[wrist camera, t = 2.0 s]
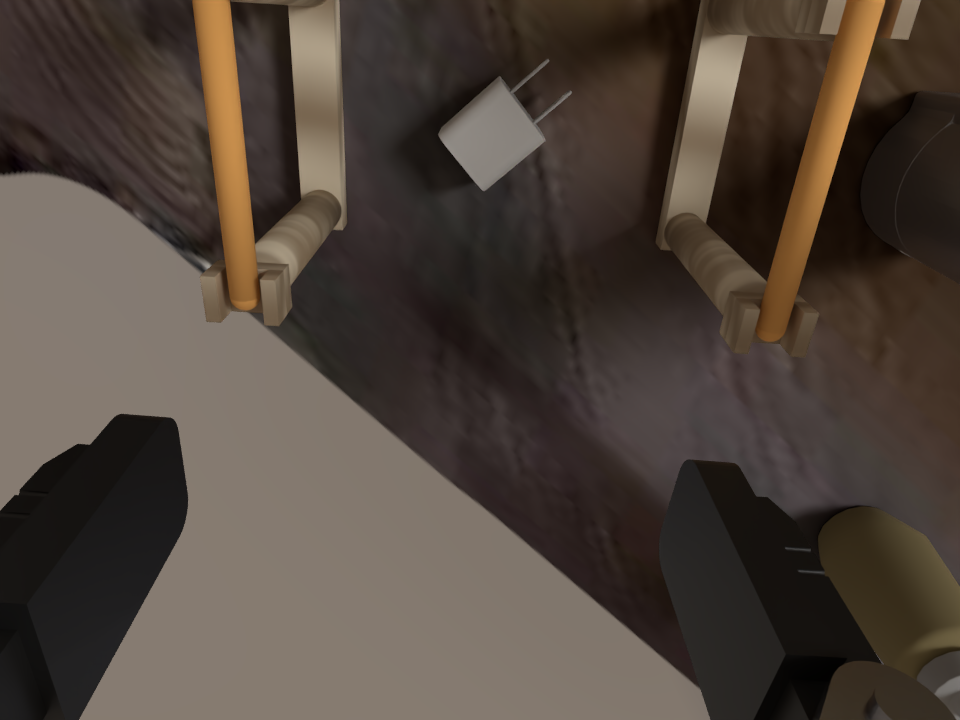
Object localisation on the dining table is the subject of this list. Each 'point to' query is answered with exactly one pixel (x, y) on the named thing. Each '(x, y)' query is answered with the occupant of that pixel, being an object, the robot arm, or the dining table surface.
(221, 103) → the orange rod
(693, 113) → the wooden parallette bars
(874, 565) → the squeeze bottle
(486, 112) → the usb wall charger
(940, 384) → the dining table surface
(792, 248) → the orange wooden rod
